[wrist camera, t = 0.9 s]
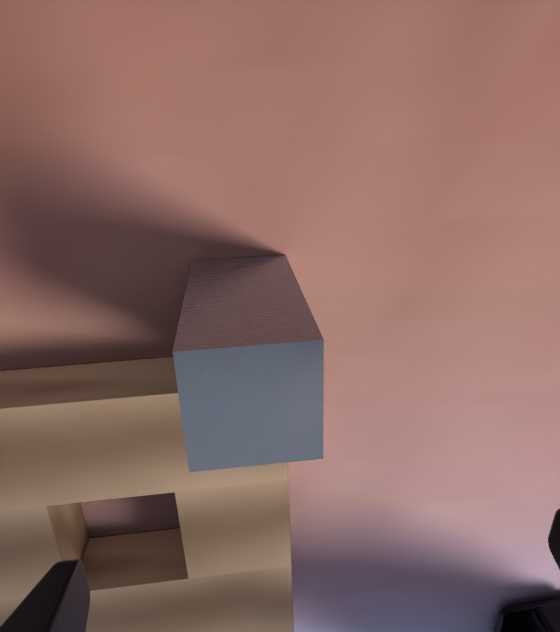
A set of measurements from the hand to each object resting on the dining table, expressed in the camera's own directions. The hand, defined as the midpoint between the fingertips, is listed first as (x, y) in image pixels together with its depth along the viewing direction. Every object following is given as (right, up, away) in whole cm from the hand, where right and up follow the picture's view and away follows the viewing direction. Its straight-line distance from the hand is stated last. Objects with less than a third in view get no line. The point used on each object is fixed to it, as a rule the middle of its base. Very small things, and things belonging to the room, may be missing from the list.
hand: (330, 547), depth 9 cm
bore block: (-8, -4, +14) cm, 17 cm away
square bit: (-3, +5, +11) cm, 12 cm away
